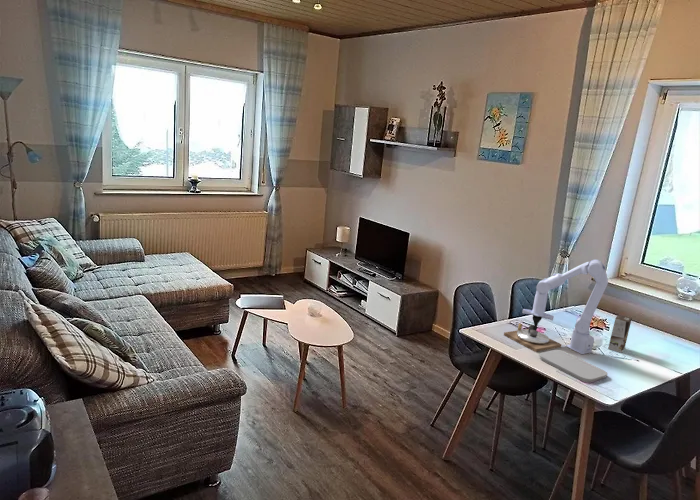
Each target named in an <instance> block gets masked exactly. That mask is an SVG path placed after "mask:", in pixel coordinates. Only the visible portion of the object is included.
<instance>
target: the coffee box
mask: <svg viewBox="0 0 700 500" xmlns="http://www.w3.org/2000/svg"><path fill="white" fill-rule="evenodd" d="M632 319H633V318H632V317H631V316H626V315H620V314H617V316H616V317H615V319H614V323H613V327H612V331H611V334H610V339H609V343H608V346H607V348H608V350H611V351H613V352H617V353H623V351H624V350H625V349H626V344H627V342H628V341H627V340H628V337H629V331H630V328H631V324H632Z"/></svg>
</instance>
